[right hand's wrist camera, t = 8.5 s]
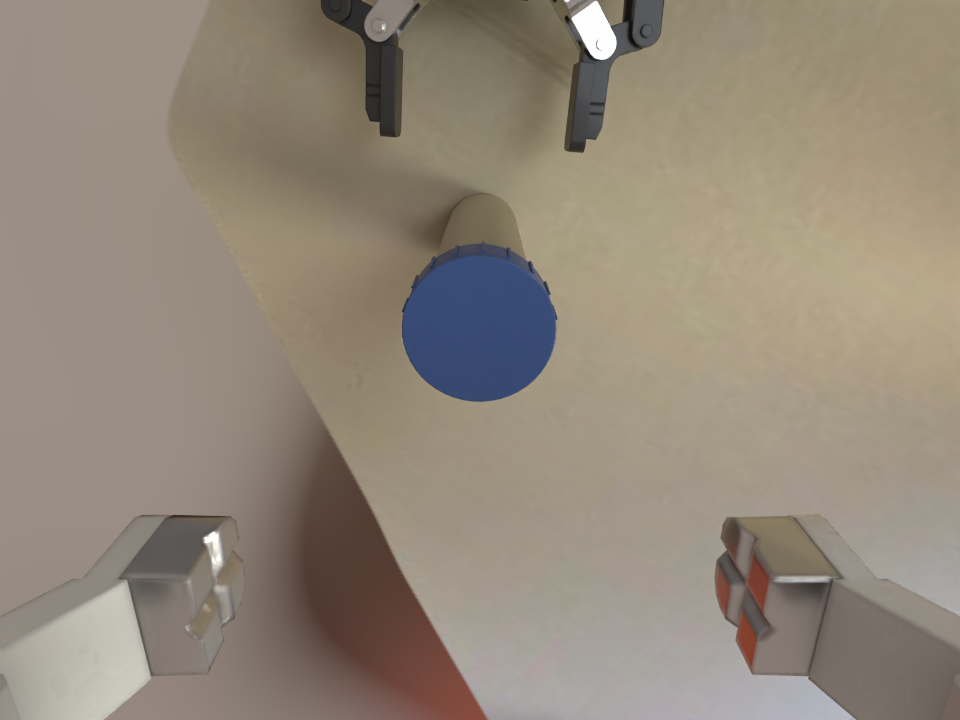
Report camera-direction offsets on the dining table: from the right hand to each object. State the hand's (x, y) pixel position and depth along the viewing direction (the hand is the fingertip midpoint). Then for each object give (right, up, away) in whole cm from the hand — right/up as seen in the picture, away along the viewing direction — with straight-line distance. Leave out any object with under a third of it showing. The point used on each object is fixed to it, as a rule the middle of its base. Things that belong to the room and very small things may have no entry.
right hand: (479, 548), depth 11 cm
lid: (0, +4, +10) cm, 11 cm away
